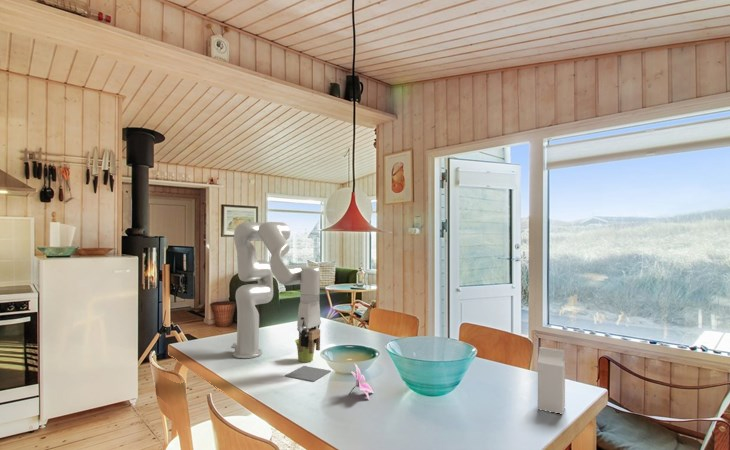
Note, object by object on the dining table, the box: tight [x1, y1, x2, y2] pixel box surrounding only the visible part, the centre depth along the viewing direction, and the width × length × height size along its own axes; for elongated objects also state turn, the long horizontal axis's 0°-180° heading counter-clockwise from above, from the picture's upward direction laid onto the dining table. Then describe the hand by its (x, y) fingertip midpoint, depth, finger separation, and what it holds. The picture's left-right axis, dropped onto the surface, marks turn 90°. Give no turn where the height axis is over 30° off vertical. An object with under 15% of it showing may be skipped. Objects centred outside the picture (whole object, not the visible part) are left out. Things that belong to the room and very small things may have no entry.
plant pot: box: [294, 338, 316, 363], centre depth 175 cm, size 9×9×9 cm
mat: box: [284, 365, 332, 383], centre depth 158 cm, size 13×13×1 cm
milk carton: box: [537, 346, 566, 415], centre depth 129 cm, size 7×7×19 cm
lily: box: [348, 363, 375, 400], centre depth 137 cm, size 12×12×10 cm
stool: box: [298, 328, 321, 354], centre depth 158 cm, size 6×6×8 cm
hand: (309, 344), depth 158 cm, fingers closed on stool, 6 cm apart
